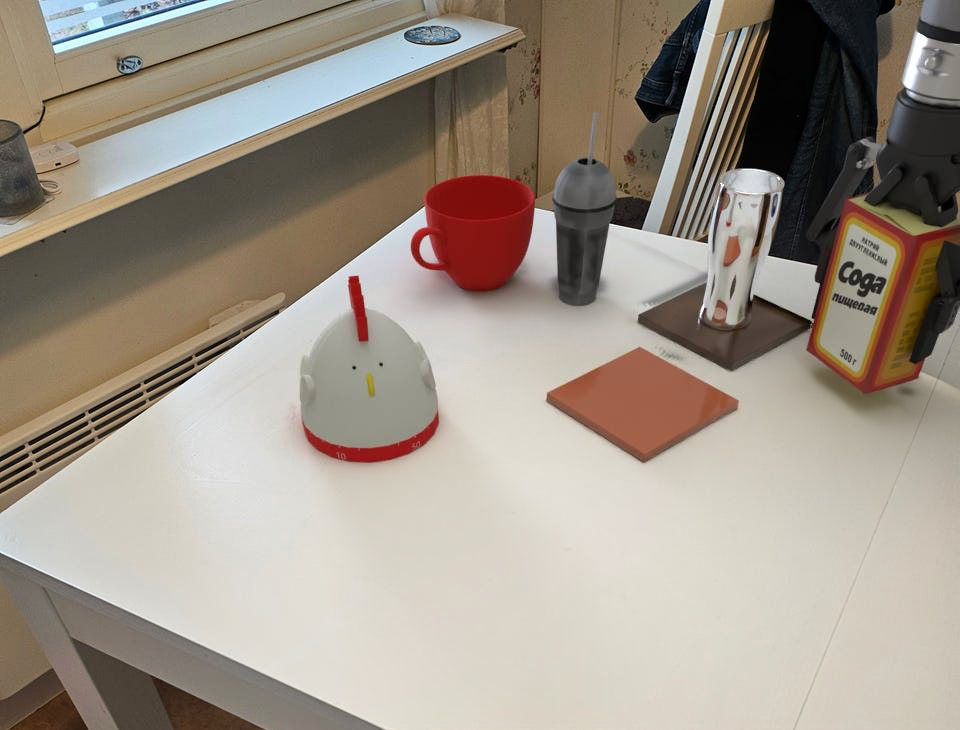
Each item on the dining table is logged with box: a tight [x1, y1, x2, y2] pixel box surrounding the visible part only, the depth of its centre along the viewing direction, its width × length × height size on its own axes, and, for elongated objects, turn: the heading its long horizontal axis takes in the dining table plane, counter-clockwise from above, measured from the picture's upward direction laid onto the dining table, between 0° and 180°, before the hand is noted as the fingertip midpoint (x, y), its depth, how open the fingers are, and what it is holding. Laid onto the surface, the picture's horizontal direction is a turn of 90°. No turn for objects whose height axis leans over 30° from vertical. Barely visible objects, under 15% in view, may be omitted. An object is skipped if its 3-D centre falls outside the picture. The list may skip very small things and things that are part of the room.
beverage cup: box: [551, 111, 618, 307], centre depth 102 cm, size 7×7×20 cm
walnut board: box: [636, 281, 813, 372], centre depth 104 cm, size 14×14×1 cm
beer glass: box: [698, 168, 785, 330], centre depth 98 cm, size 7×7×15 cm
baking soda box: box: [805, 191, 960, 396], centre depth 87 cm, size 10×6×16 cm
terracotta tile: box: [545, 346, 740, 463], centre depth 93 cm, size 14×14×1 cm
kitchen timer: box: [299, 275, 440, 463], centre depth 87 cm, size 14×14×15 cm
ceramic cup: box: [410, 174, 536, 293], centre depth 108 cm, size 13×17×10 cm
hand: (869, 335), depth 91 cm, fingers closed on baking soda box, 11 cm apart
